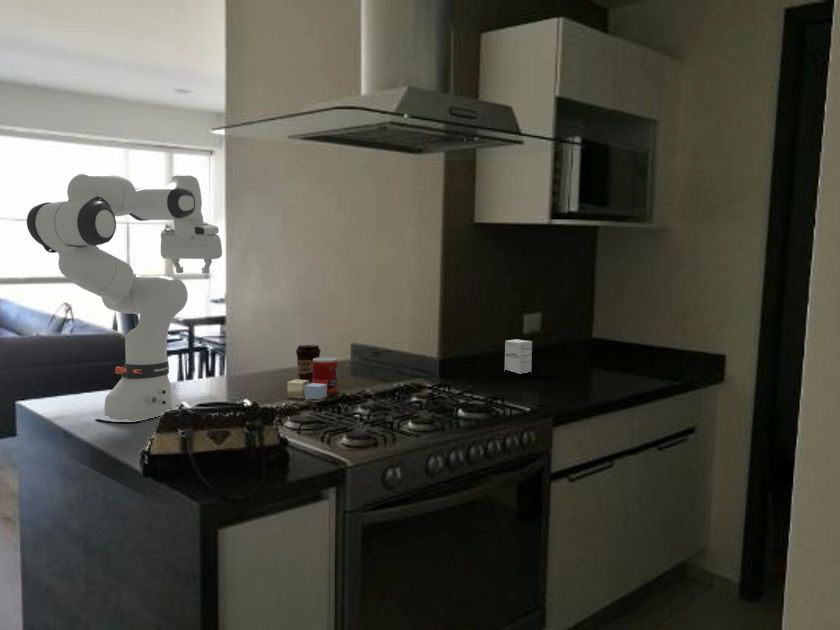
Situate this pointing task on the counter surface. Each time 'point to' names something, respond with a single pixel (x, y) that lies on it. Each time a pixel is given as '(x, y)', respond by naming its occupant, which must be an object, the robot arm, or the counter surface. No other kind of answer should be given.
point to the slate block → (315, 391)
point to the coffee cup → (306, 361)
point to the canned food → (325, 372)
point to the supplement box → (518, 356)
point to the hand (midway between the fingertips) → (192, 273)
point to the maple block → (296, 388)
